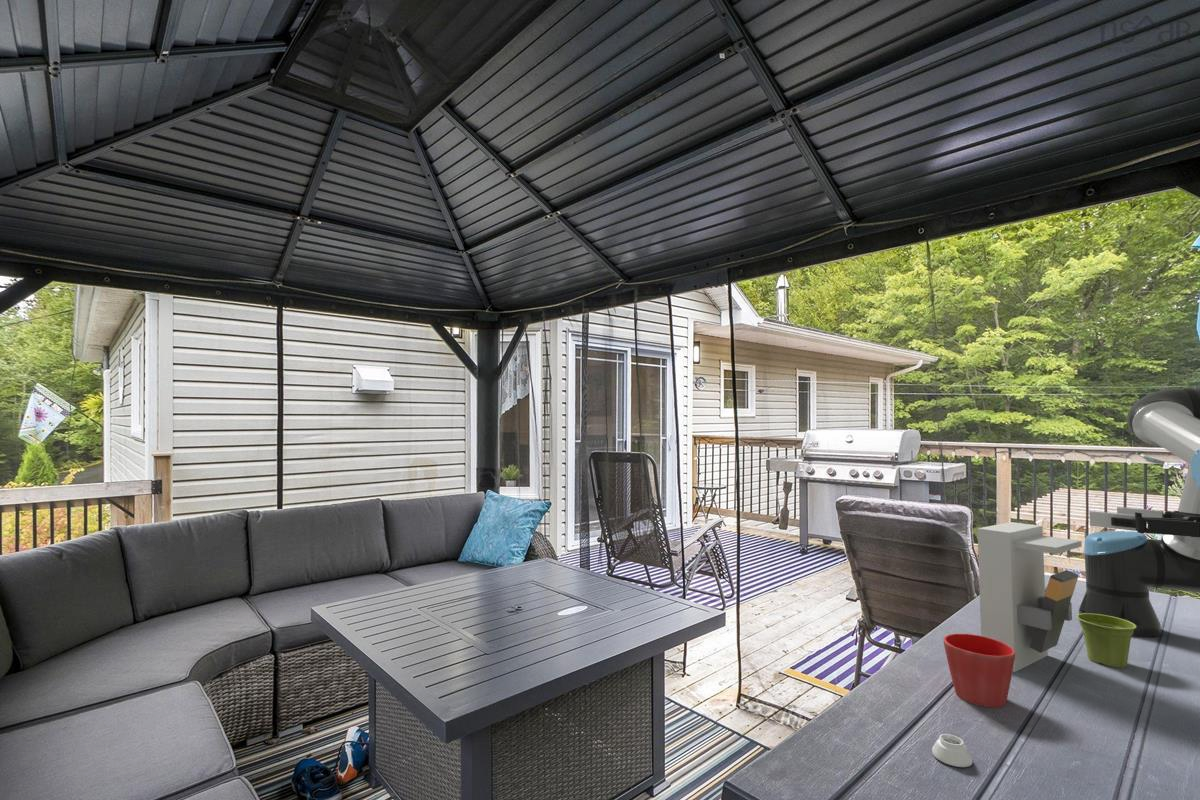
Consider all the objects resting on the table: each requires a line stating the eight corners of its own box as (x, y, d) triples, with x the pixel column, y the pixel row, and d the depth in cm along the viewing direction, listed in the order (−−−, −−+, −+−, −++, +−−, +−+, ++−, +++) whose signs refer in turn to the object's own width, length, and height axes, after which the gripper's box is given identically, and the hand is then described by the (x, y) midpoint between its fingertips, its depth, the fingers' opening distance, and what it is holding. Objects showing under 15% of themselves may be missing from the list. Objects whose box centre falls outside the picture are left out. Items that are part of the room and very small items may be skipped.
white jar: (976, 760, 82) (939, 746, 86) (976, 740, 82) (938, 726, 86) (966, 774, 79) (927, 758, 83) (965, 753, 79) (926, 738, 83)
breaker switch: (1046, 639, 118) (1067, 569, 115) (1057, 644, 116) (1079, 574, 114) (1028, 647, 113) (1049, 575, 111) (1040, 653, 112) (1062, 580, 109)
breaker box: (1015, 646, 126) (1011, 522, 127) (1090, 667, 115) (1083, 530, 116) (982, 661, 117) (977, 528, 119) (1058, 686, 106) (1052, 538, 108)
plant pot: (1150, 673, 112) (1148, 629, 112) (1096, 669, 114) (1094, 626, 114) (1117, 655, 121) (1115, 614, 121) (1068, 651, 123) (1066, 611, 123)
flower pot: (996, 718, 94) (994, 660, 95) (932, 691, 104) (931, 638, 104) (1029, 704, 99) (1027, 649, 100) (965, 679, 109) (963, 629, 109)
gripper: (1257, 564, 83) (1078, 541, 101) (1293, 549, 95) (1129, 530, 113) (1253, 513, 83) (1076, 499, 101) (1290, 505, 96) (1127, 493, 114)
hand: (1104, 516), depth 107 cm, fingers open, 13 cm apart
